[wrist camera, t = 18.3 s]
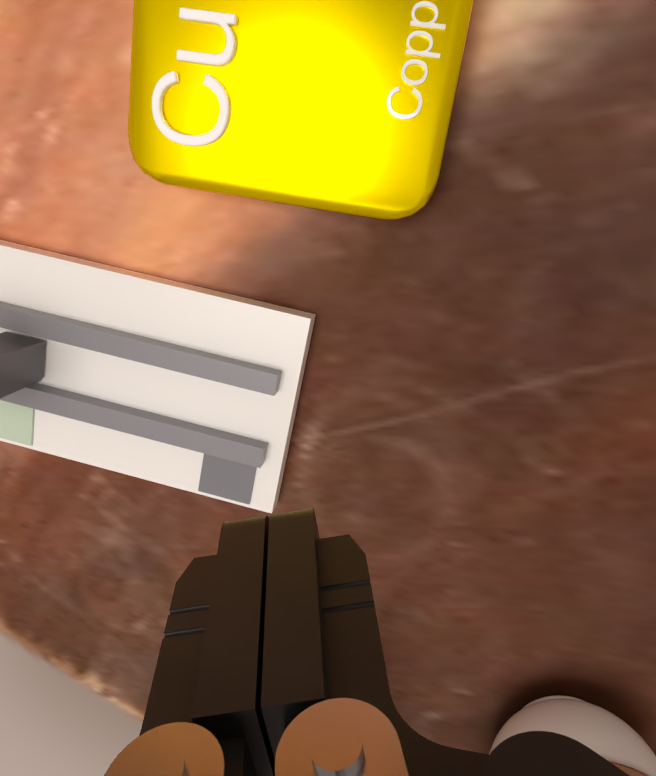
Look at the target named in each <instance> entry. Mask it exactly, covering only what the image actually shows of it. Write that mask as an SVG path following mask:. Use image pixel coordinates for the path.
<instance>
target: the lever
mask: <svg viewBox="0 0 656 776" xmlns="http://www.w3.org/2000/svg"><path fill="white" fill-rule="evenodd" d="M44 345H45V341H43V340H39V339H35V338H31V337H27V336H23V335H19V334H15V333H11V332H7V331H6V332H3V333H0V398H3V397H5V396H7V395H10V394H12V393H14V392H16V391H19V390H21V389H23V388H25V387H28V386H30V385H32V384H34V383H37V382H39V381H41V380H42V378H43V362H44Z"/></svg>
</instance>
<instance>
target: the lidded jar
mask: <svg viewBox="0 0 656 776" xmlns="http://www.w3.org/2000/svg"><path fill="white" fill-rule="evenodd" d="M528 731H547V732H554V733H558V734H561V735H565V736H567V737H570V738H572V739H574V740H577V741H579V742H580V743H582V744H584V745H585V746H587V747H589V748H590V749H592V750H593V751H595V752H596V753H597V754H599V755H600V756H602V757H603V758H605V759H606V760H608V761H609V762H611V763H612V764H614V765H615V766H616V767H618V768H619V769H621V770H622V771H624V772H625V773H627V774H628V775H630V776H656V755H655V754H654V753H653V751H652V750H651V749H650V747H649V746H648V745H647V743H646V742H645V741H644V740H643V739H642V737H641V736H640V735H639V734H638V733H637V732H636V731H634V730H633V729H632V728H631V727H630V726H629V725H628V724H627V723H626V722H624V721H623V720H622V719H620V718H618V717H617V716H615V715H614V714H612V713H611V712H609V711H608V710H605V709H603V708H601V707H599V706H597V705H594V704H591V703H588V702H586V701H584V700H581V699H578V698H575V697H571V696H563V695H553V696H546V697H542V698H539V699H536V700H534V701H532V702H530V703H528V704H527V705H525V706H524V707H523V708H522V709H521V710H520V711H518V712H517V713H516V714H514V715H513V716H512V717H511V718H510V719H509V720H508V721H507V722H506V723H505V724H504V725H503V727H502V728H501V730H500V731H499V732H498V734H497V735H496V738H495V740H494V742H493V744H492V747H491V749H490V752H489V755H490V753H491V752H492V750H493V749H494V748H495V747H496V746H498V745H499V744H500V743H501V742H502V741H504V740H506V739H507V738H509V737H511V736H513V735H516V734H518V733H523V732H528Z"/></svg>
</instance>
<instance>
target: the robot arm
mask: <svg viewBox="0 0 656 776" xmlns="http://www.w3.org/2000/svg"><path fill="white" fill-rule="evenodd" d="M164 634H165V638H164V639H163V640H162V644H161V648H160V653H159V657H158V661H157V665H156V669H155V674H154V678H153V682H152V686H151V691H150V695H149V699H148V703H147V707H146V712H145V716H144V720H143V724H142V729H141V732H140V735H139V737H137V738H136V739H134V740H133V741H132V742H131V743H130V744H128V745H127V746H126V747H125V748H124V749H123V750H122V751H121V752H120V753H119V754H118V755H117V757H116V758H115V759H114V761H113V762H112V763H111V765H110V766H109V768H108V770H107V772H106V773H105V775H104V776H630V775H628V774H627V773H625V772H624V771H622V770H621V769H619V768H618V767H616V766H615V765H614V764H612V763H611V762H609V761H608V760H606V759H605V758H603V757H602V756H600V755H599V754H597V753H596V752H595V751H593V750H592V749H590V748H589V747H587V746H585V745H584V744H582V743H580V742H579V741H577V740H574V739H572V738H570V737H567V736H565V735H561V734H558V733H554V732H547V731H528V732H523V733H518V734H516V735H513V736H511V737H509V738H507V739H506V740H504V741H502V742H501V743H500V744H499V745H498V746H496V747H495V748H494V749H493V750H492V752H491V753H490V755H488V754H482V753H477V752H471V751H466V750H461V749H455V748H451V747H447V746H443V745H439V744H437V743H435V742H432V741H430V740H428V739H426V738H425V737H423V736H421V735H419V734H418V733H417V732H416V731H414V730H413V729H412V728H411V727H409V725H408V724H407V723H406V722H405V721H404V720H403V719H402V718H401V716H400V715H399V713H398V712H397V710H396V708H395V706H394V704H393V701H392V698H391V695H390V691H389V685H388V679H387V674H386V668H385V662H384V657H383V651H382V645H381V640H380V634H379V628H378V623H377V617H376V611H375V606H374V600H373V594H372V589H371V584H370V577H369V572H368V566H367V560H366V555H365V553H364V552H363V551H362V550H361V548H360V547H359V546H358V545H357V544H356V542H355V541H354V540H353V539H352V538H351V537H350V535H343V536H336V537H329V538H323V539H319V534H318V528H317V523H316V517H315V512H314V509H313V508H312V509H305V510H299V511H292V512H285V513H279V514H272V515H270V517H268V516H260V517H254V518H247V519H240V520H234V521H227V522H223V524H222V528H221V534H220V540H219V546H218V552H217V555H211V556H205V557H198V558H194V559H193V560H192V562H191V563H190V564H189V566H188V567H187V569H186V570H185V571H184V573H183V574H182V575H181V577H180V578H179V579H178V581H177V582H176V585H175V589H174V594H173V598H172V602H171V606H170V615H168V619H167V623H166V627H165V631H164Z"/></svg>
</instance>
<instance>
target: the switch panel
mask: <svg viewBox="0 0 656 776" xmlns="http://www.w3.org/2000/svg"><path fill="white" fill-rule="evenodd" d="M315 316H316V314H312V313H308V312H304V311H300V310H296V309H291V308H287V307H283V306H279V305H274V304H270V303H266V302H262V301H258V300H253V299H249V298H245V297H241V296H237V295H232V294H228V293H224V292H220V291H215V290H211V289H207V288H203V287H199V286H194V285H190V284H186V283H182V282H177V281H173V280H169V279H165V278H161V277H156V276H152V275H148V274H144V273H139V272H135V271H131V270H127V269H123V268H118V267H114V266H110V265H106V264H102V263H97V262H93V261H89V260H85V259H80V258H76V257H72V256H68V255H64V254H59V253H55V252H51V251H47V250H42V249H38V248H34V247H30V246H26V245H21V244H17V243H13V242H9V241H4V240H0V333H3V332H6V331H7V332H11V333H15V334H19V335H23V336H27V337H31V338H35V339H39V340H43V341H45V345H44V362H43V378H42V380H41V381H39V382H37V383H34V384H32V385H30V386H28V387H25V388H23V389H21V390H19V391H16V392H14V393H12V394H10V395H7V396H5V397H3V398H0V441H4V442H8V443H11V444H15V445H19V446H23V447H26V448H30V449H34V450H37V451H41V452H45V453H49V454H52V455H56V456H60V457H63V458H67V459H71V460H75V461H78V462H82V463H86V464H90V465H93V466H97V467H101V468H104V469H108V470H112V471H116V472H119V473H123V474H127V475H130V476H134V477H138V478H142V479H145V480H149V481H153V482H156V483H160V484H164V485H168V486H171V487H175V488H179V489H183V490H186V491H190V492H194V493H197V494H201V495H205V496H209V497H212V498H216V499H220V500H223V501H227V502H231V503H235V504H238V505H242V506H246V507H249V508H253V509H257V510H261V511H264V512H268V513H272V512H273V510H274V508H275V506H276V504H277V502H278V498H279V493H280V488H281V483H282V478H283V473H284V469H285V464H286V459H287V454H288V449H289V444H290V439H291V434H292V429H293V424H294V419H295V414H296V409H297V404H298V400H299V395H300V390H301V385H302V380H303V375H304V370H305V365H306V360H307V355H308V350H309V345H310V340H311V335H312V331H313V326H314V321H315Z"/></svg>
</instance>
